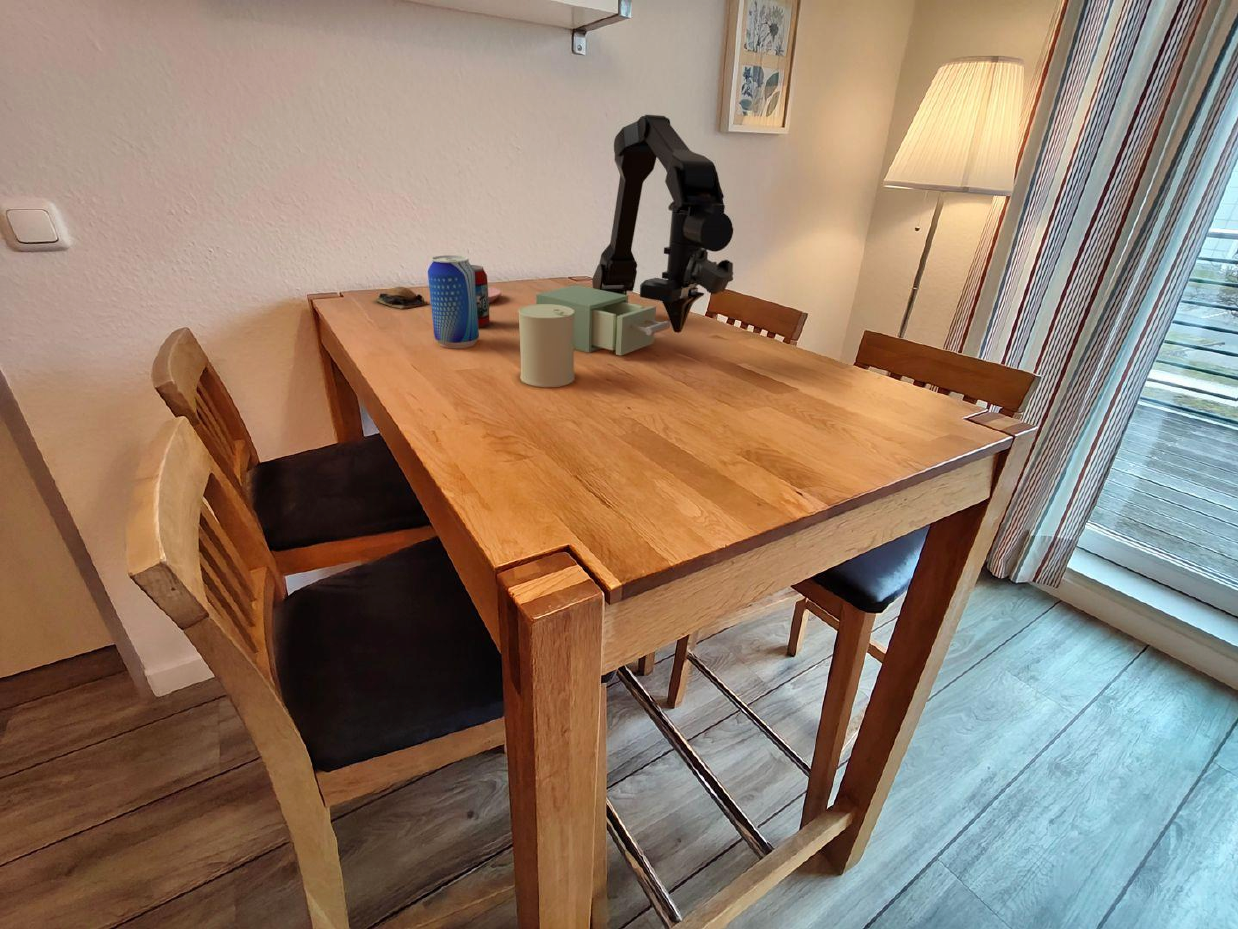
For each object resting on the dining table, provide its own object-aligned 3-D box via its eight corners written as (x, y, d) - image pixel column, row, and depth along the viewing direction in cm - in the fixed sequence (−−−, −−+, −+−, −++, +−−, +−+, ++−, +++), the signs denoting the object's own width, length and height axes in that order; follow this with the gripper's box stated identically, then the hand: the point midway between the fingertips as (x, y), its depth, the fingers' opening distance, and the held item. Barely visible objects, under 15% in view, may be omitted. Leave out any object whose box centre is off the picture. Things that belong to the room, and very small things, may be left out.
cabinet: (626, 339, 123) (628, 295, 118) (588, 352, 113) (589, 305, 109) (576, 326, 129) (576, 284, 125) (537, 338, 120) (536, 293, 116)
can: (552, 391, 95) (551, 317, 89) (509, 379, 99) (505, 307, 93) (585, 376, 102) (586, 307, 96) (543, 365, 106) (542, 298, 100)
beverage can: (482, 329, 124) (478, 271, 118) (452, 326, 125) (447, 268, 119) (494, 322, 130) (491, 265, 124) (466, 319, 131) (461, 263, 125)
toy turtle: (372, 302, 140) (370, 286, 139) (402, 296, 147) (400, 281, 145) (400, 310, 135) (398, 293, 133) (430, 304, 141) (428, 288, 140)
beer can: (487, 340, 117) (482, 257, 110) (464, 352, 110) (457, 263, 103) (451, 335, 120) (443, 252, 112) (426, 345, 113) (416, 259, 105)
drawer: (674, 348, 116) (678, 311, 112) (642, 361, 107) (645, 322, 104) (604, 330, 124) (605, 296, 121) (569, 342, 116) (570, 305, 113)
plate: (513, 299, 149) (512, 291, 148) (472, 309, 139) (472, 300, 138) (472, 290, 156) (471, 283, 155) (430, 299, 145) (429, 291, 144)
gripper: (701, 253, 89) (690, 352, 97) (752, 243, 103) (739, 330, 110) (640, 244, 95) (635, 339, 102) (696, 235, 108) (688, 319, 116)
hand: (677, 331), depth 107 cm, fingers closed
